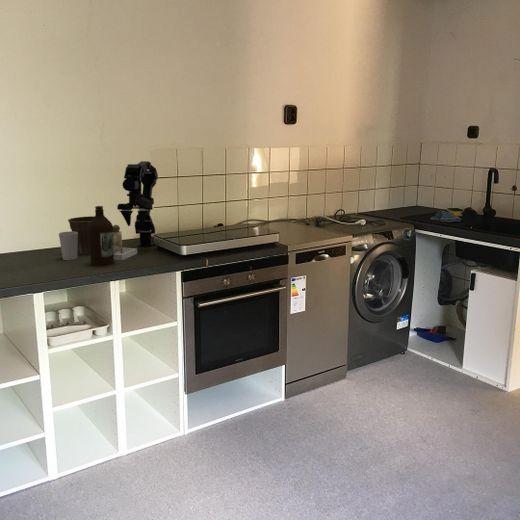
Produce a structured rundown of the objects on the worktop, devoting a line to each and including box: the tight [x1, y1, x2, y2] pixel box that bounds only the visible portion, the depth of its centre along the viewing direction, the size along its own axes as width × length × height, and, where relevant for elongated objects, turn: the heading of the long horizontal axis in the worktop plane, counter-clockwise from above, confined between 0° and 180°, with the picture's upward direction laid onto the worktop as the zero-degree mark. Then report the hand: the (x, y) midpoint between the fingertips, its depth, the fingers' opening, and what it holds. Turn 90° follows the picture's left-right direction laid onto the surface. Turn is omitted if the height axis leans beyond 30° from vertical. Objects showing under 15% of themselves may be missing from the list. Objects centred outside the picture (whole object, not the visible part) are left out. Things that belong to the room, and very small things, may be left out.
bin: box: [114, 247, 138, 261], centre depth 263 cm, size 14×12×3 cm
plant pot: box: [67, 215, 95, 255], centre depth 271 cm, size 16×16×16 cm
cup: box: [58, 230, 78, 261], centre depth 257 cm, size 8×8×12 cm
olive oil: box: [87, 205, 115, 267], centre depth 246 cm, size 11×11×25 cm
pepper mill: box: [113, 224, 124, 254], centre depth 261 cm, size 4×4×14 cm
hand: (135, 225), depth 270 cm, fingers open, 9 cm apart
